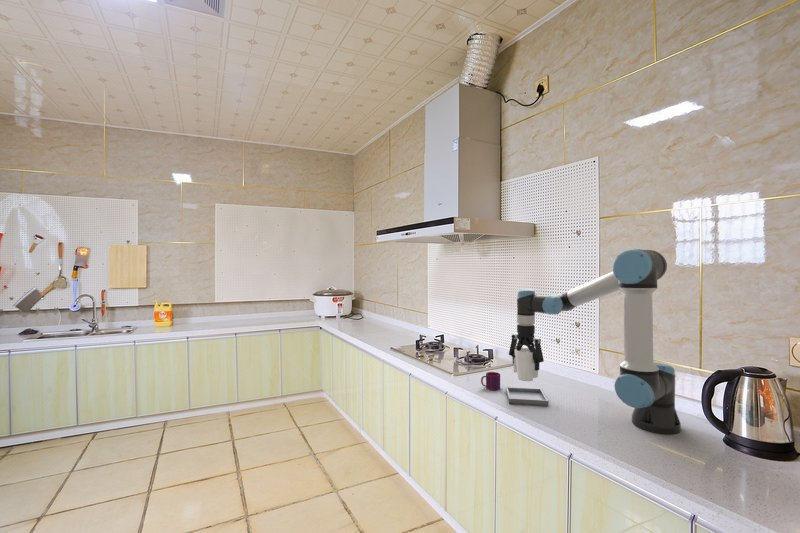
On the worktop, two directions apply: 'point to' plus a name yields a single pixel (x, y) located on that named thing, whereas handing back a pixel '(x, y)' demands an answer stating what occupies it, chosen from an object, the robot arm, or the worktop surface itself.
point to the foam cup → (524, 364)
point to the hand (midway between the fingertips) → (525, 374)
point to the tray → (526, 396)
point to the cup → (492, 380)
